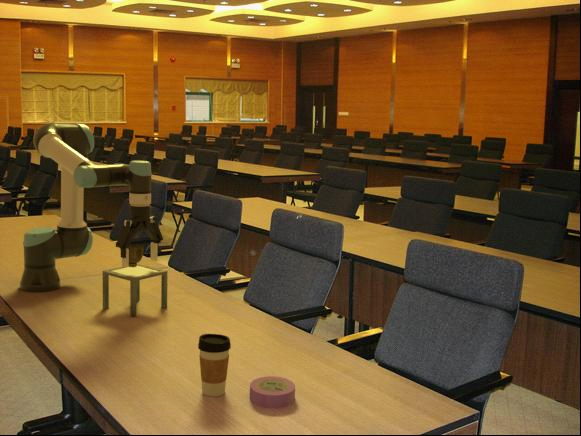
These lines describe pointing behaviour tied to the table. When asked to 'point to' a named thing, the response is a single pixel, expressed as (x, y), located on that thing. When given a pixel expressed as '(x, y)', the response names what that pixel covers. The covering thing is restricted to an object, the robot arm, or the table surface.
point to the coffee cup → (214, 363)
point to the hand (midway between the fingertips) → (139, 263)
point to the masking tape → (272, 392)
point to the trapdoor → (134, 271)
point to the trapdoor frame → (134, 287)
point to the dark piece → (135, 254)
